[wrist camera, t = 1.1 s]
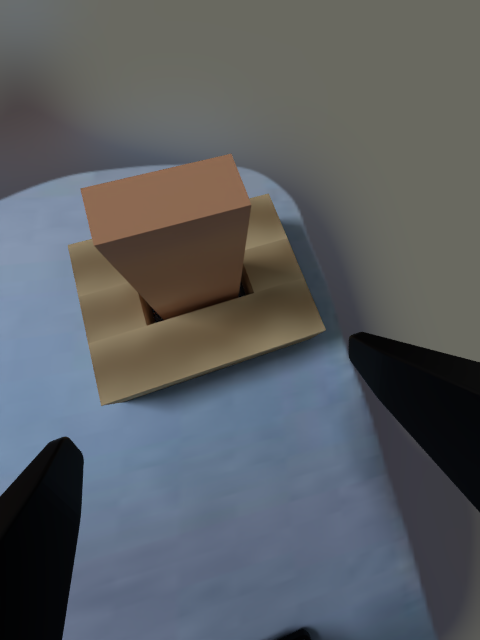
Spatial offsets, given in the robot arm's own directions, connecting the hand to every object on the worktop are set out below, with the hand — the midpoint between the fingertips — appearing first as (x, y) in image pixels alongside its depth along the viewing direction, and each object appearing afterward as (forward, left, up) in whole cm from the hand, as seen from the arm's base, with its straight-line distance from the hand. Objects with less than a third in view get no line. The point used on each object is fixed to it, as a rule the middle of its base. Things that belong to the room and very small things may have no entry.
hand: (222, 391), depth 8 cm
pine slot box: (+8, 0, -13) cm, 15 cm away
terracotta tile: (+8, 0, -13) cm, 15 cm away
